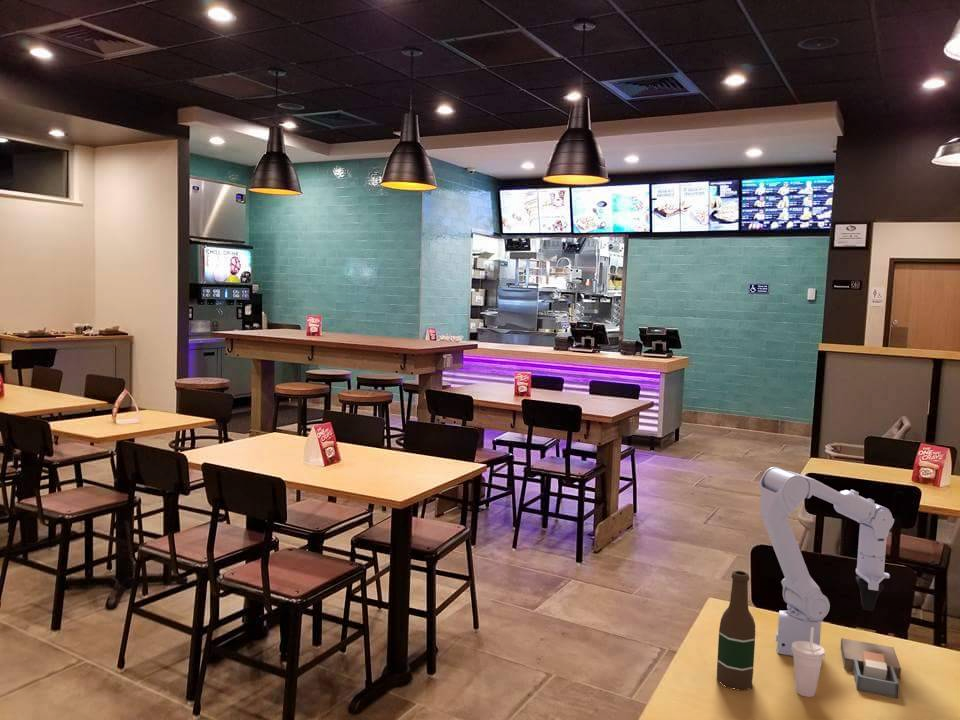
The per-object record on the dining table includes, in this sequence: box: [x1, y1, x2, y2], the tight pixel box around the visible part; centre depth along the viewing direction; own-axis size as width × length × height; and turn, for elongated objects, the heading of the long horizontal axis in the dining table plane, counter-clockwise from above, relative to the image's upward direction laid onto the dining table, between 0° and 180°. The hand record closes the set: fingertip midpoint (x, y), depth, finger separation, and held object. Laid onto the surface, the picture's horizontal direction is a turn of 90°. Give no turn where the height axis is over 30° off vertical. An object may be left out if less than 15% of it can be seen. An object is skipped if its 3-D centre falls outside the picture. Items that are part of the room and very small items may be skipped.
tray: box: [852, 658, 900, 699], centre depth 157 cm, size 8×9×3 cm
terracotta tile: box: [862, 651, 885, 667], centre depth 160 cm, size 4×4×2 cm
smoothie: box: [791, 627, 826, 698], centre depth 152 cm, size 6×6×14 cm
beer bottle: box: [716, 570, 756, 691], centre depth 155 cm, size 8×8×24 cm
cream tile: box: [863, 659, 887, 680], centre depth 157 cm, size 4×4×2 cm
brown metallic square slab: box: [840, 637, 902, 680], centre depth 166 cm, size 11×11×2 cm
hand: (867, 609), depth 173 cm, fingers closed
